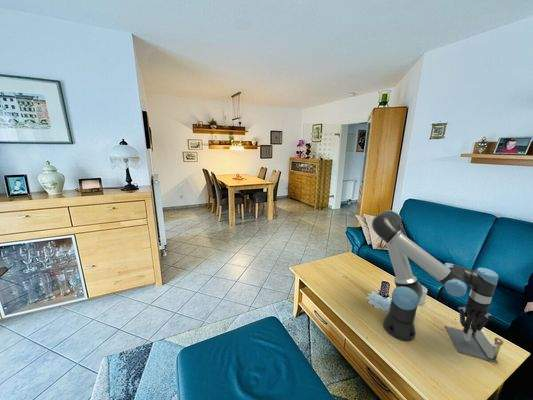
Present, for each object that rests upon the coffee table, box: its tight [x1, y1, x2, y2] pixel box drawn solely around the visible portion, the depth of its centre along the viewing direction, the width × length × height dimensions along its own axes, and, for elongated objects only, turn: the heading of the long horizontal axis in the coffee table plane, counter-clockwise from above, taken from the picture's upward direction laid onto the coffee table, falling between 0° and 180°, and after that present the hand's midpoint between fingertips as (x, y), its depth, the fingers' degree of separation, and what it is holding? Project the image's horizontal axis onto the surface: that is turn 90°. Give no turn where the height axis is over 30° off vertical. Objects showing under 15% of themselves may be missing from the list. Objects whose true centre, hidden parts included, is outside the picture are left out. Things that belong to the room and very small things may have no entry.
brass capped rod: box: [492, 337, 504, 360], centre depth 103 cm, size 3×3×11 cm
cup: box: [418, 284, 428, 306], centre depth 142 cm, size 8×12×10 cm
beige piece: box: [475, 328, 497, 358], centre depth 108 cm, size 12×2×7 cm, turn 160°
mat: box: [444, 325, 499, 364], centre depth 113 cm, size 15×17×1 cm
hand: (466, 338), depth 111 cm, fingers closed
